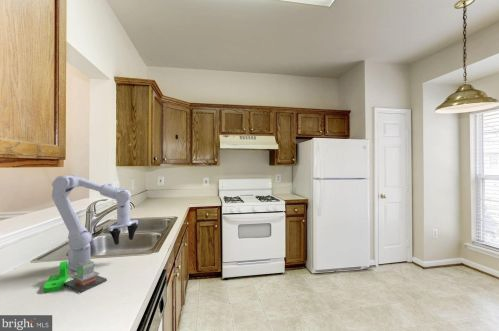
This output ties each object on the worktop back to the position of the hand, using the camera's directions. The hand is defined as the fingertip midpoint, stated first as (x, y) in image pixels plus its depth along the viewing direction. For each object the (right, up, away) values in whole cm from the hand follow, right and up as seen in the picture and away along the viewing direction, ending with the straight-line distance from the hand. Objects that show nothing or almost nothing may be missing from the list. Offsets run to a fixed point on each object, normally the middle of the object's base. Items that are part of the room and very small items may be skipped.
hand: (123, 241), depth 116 cm
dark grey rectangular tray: (-5, -11, -20) cm, 23 cm away
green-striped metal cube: (-5, -7, -20) cm, 22 cm away
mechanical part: (-17, -11, -21) cm, 29 cm away
